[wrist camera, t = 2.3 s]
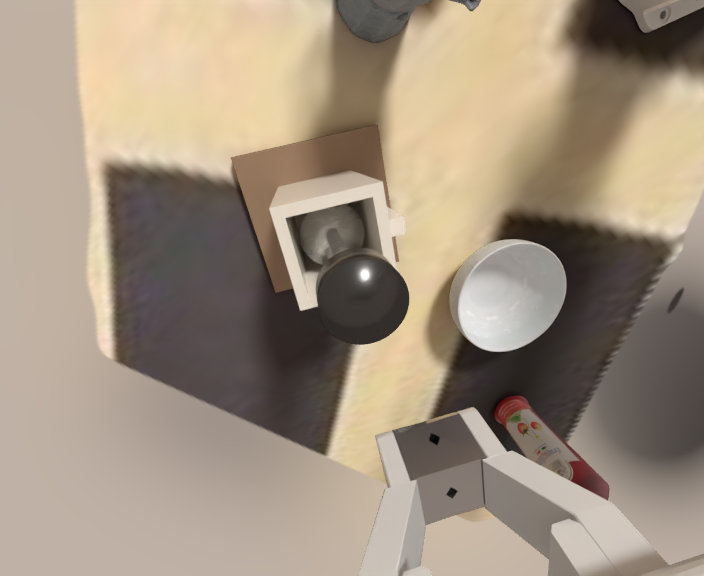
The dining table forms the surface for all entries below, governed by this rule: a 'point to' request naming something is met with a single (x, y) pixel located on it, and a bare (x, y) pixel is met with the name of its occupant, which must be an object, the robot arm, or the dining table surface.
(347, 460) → the dining table surface
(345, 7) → the moka pot
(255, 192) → the hollow square stand
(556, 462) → the liquor
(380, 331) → the dark-topped thin piece
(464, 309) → the cereal bowl
